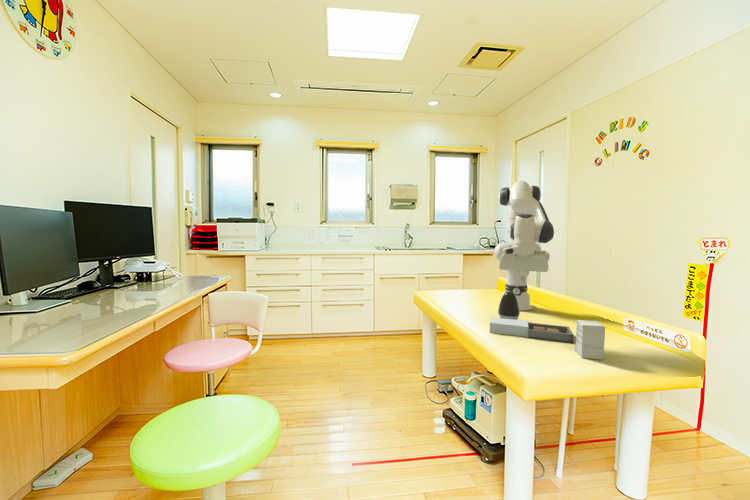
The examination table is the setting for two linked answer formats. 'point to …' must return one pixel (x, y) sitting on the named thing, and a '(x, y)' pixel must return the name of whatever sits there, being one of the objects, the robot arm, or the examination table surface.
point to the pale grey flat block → (509, 326)
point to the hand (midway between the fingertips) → (522, 280)
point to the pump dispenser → (509, 306)
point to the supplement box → (590, 339)
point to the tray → (551, 333)
